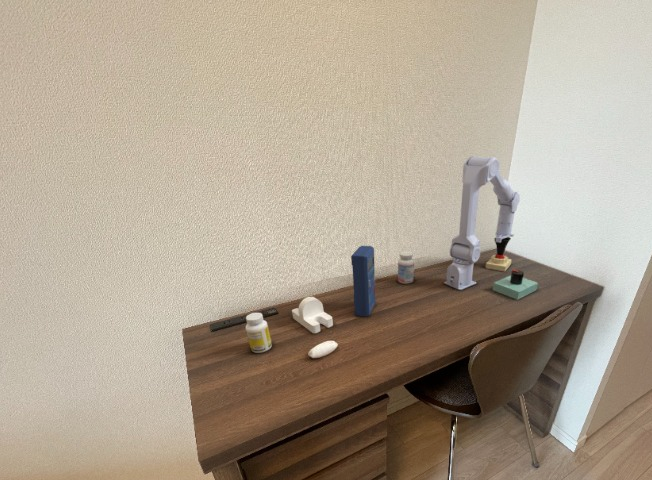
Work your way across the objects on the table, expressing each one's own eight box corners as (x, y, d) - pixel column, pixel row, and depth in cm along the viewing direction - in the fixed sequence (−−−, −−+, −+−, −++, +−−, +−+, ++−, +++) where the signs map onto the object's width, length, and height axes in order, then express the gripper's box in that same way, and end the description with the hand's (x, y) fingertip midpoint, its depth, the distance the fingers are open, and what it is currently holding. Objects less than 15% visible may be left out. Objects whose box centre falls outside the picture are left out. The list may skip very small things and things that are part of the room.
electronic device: (369, 317, 100) (367, 256, 91) (354, 315, 101) (350, 255, 92) (376, 303, 108) (374, 246, 99) (361, 302, 109) (358, 245, 100)
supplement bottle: (264, 339, 90) (258, 309, 85) (276, 346, 86) (269, 315, 82) (247, 348, 86) (238, 317, 81) (258, 356, 83) (250, 323, 78)
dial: (524, 282, 114) (526, 271, 112) (517, 285, 111) (520, 274, 109) (514, 279, 116) (516, 268, 114) (507, 282, 114) (509, 271, 112)
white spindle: (307, 357, 82) (306, 348, 81) (333, 345, 87) (332, 336, 85) (313, 363, 80) (312, 353, 79) (340, 350, 85) (339, 341, 83)
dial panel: (517, 299, 109) (519, 291, 107) (492, 290, 116) (493, 282, 114) (536, 290, 115) (538, 282, 114) (511, 281, 122) (513, 273, 121)
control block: (504, 271, 131) (506, 262, 129) (485, 268, 135) (486, 259, 133) (510, 264, 138) (512, 255, 137) (492, 260, 142) (493, 252, 141)
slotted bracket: (334, 325, 96) (331, 302, 92) (314, 334, 92) (310, 310, 88) (311, 310, 104) (308, 288, 101) (292, 317, 100) (288, 295, 97)
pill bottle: (395, 279, 125) (395, 252, 120) (408, 276, 128) (409, 249, 123) (402, 285, 120) (402, 257, 115) (416, 282, 123) (417, 254, 118)
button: (502, 260, 133) (503, 256, 132) (493, 259, 135) (494, 255, 134) (504, 258, 136) (505, 254, 135) (496, 256, 137) (496, 252, 137)
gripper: (511, 227, 121) (505, 261, 127) (519, 219, 132) (514, 251, 138) (492, 225, 124) (487, 258, 130) (502, 217, 135) (497, 248, 141)
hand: (500, 254), depth 134 cm, fingers closed, pressing on button
